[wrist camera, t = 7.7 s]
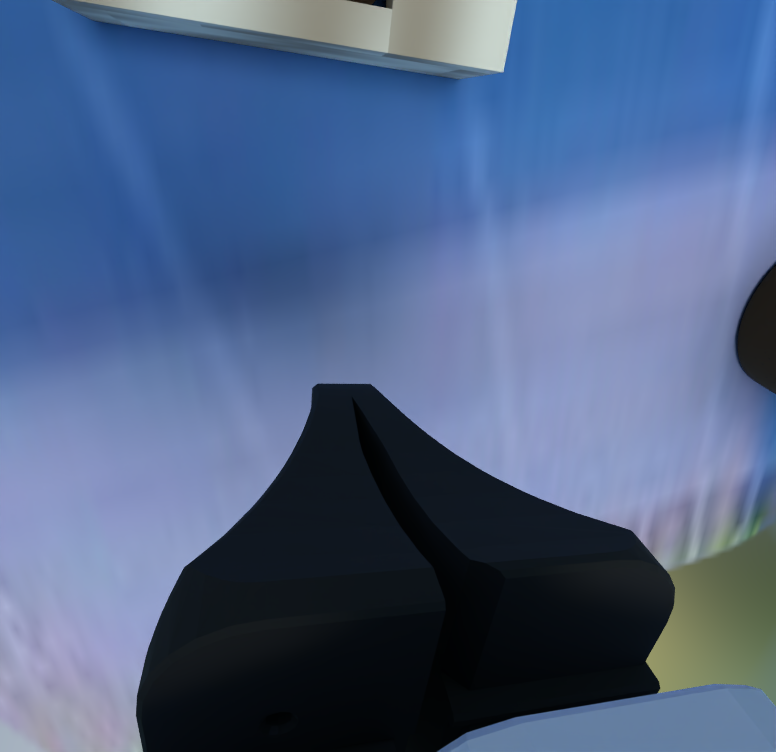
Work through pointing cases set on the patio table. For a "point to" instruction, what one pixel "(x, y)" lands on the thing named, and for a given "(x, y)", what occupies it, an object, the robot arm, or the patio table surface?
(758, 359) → the olive oil
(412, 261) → the patio table surface
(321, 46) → the grey square block
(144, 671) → the robot arm
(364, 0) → the box with round disc
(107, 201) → the patio table surface
